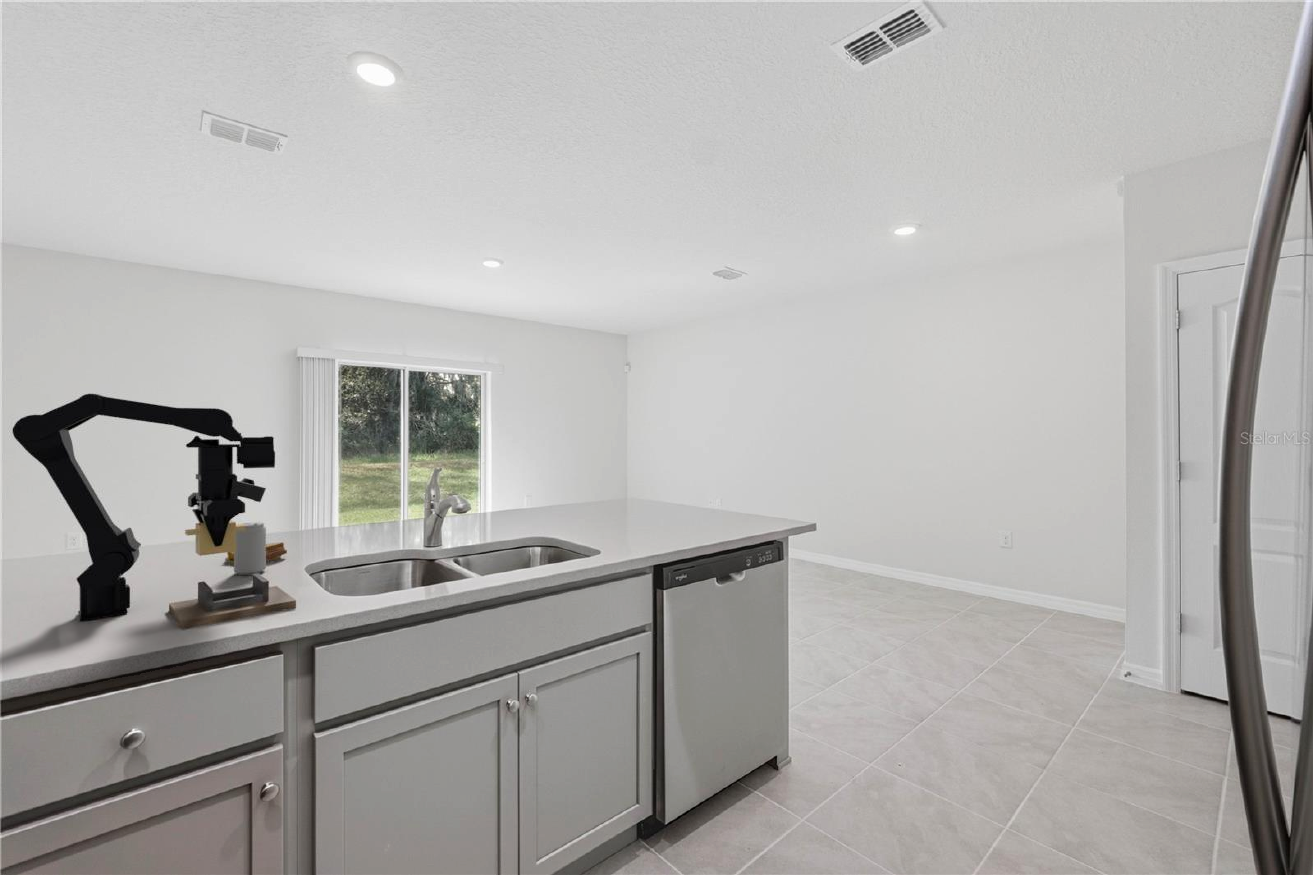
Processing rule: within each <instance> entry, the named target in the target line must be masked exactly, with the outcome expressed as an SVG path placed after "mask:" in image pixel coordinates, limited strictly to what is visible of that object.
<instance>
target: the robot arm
mask: <svg viewBox="0 0 1313 875" xmlns="http://www.w3.org/2000/svg"><path fill="white" fill-rule="evenodd" d="M97 416H103V417H111V418H116V419H117V418H118V419H126V420H132V421H139V422H147V423H153V424H162V425H167V426H169V425H170V426H173V427H177V428H181V429H184V430H188V431H190V432H194V433H199V434H201V435H204V436H208V437H222V438H223V439H225V440H227V441H229V442H239V443H230V444H229V443H228V444H227V443H220V439H218V438H216V439H214V438H213V439H212V438H210V439H209V438H207V439H206V438H205V439H204V438H203V439H202V438H201V437H200V436H199V435H195V436H194V437H193V439H192V440H190V441H189V442H188V443H187V444H185V446H186V448H188V449H189V448H191V449H192V448H197V473H195V480H197V492H192V493H191V494H190V495H189V496H188V497H187V506H188V507H189V508H193V509H191V511H192V513H193V514H194V516H195V518H196V520H197V521H198V523H205V526H206V528H207V530H208V532H209V535H210V537H211V539H212V541H213V543H214V545H215V546H221V545H222V543H223V540H224V536H225V533H226V530H227V527H228V524H229V521H230V520H232V519H233V518H235V517H236V516H238V515H239V514H244V513H246V503H245V502H244V501H243V500H241V499H239V497H240V498H245V499H248V500H253V501H254V502H257V503H261V502H262V499H263V497H264V494H265V492H266V489H267V488H266V487H262V486H259V485H256V484H255V481H254V479H251V478H245V477H243V478H242V480H240V481H239V480H238V475H236V473H234V472H233V471H234V465H233V464H234V461H233V458H234V457H233V456H234V454H233V452H234V449H233V448H236V464H238V465H239V464H240V465H242V467H243V469H270V468H272V469H273V468H276V451H275V444H274V443H275V442H274V436H272V435H271V436H267V435H266V436H259V437H258V436H257V437H252V436H250V437H248V436H246V437H245V436H243V435H242V432H239V431H238V430H237V428H235V426H233V423H234V420H233V418H232V416H231V414H230V413H229V412H227V411H226V410H224V409H221V408H208V407H203V408H202V407H199V408H198V407H174V406H168V405H161V404H154V403H148V402H143V401H142V402H141V401H135V400H128V399H121V398H115V397H109V396H104V395H101V394H98V393H87V394H85V393H84V394H82V395H81V396H79V397H78V398H77V399H75V400H72V401H71V402H68V403H65V404H63V405H61V406H59V407H57V408H54V409H51V410H49V411H47V412H45V413H43V414H29V415H26V416H24V417H21V418H20V419H18V420H17V421H15V424H14V426H13V427H12V435H13V437H14V439H15V440H16V441H17V442H18V443H19V444H20V445H21V446H22V447H23V449H24V450H25V451H26V452H27V453H28V454H29V455H30V456H32V457H33V458H34V459H35V460H36V461H38V462H39V463H40V464H41V465H42V466H43V467H45V469H46V471H47V473H48V475H49V476H50V478H51V479H52V481H53V482H54V484H55V486H56V488H57V489H58V491H59V492H60V494H61V496H62V497H63V499H64V500H65V502H66V504H67V506H68V507H69V509H70V511H71V512H72V514H73V516H74V517H75V519H76V520H77V522H78V524H79V526H80V527H81V528H82V531H83V532H84V534H85V537H86V542H87V549H88V552H89V556H90V558H91V559H90V560H91V563H92V564H90V566H88V567H86V569H85V570H84V571H83V572H82V573H80V575H78V576H77V577H76V582H77V583H78V585H79V610H78V612H77V613H78V619H79V622H81V621H82V622H83V621H89V620H96V619H102V618H107V617H114V616H120V615H126V614H128V613H129V612H128V610H129V609H130V608H131V587H130V585H129V584H127V580H126V577H124V576H123V575H124V574H125V573H127V572H129V570H131V568H132V567H133V566H134V565H135V563H136V562H137V561H138V558H139V556H140V549H139V548H140V547H141V545H142V544H141V543H140V542H139V541H138V540H137V539H136V538H135V536H134V532H133V530H132V528H131V527H127V528H126V529H124V530H122V529H121V528H120V527H118V526H117V525H116V524H115V523H114V522H113V521H112V519H111V516H110V515H109V513H108V511H107V510H106V509H105V507H104V505H103V504H102V502H101V500H100V498H99V497H98V495H97V493H96V492H95V489H94V488H93V487H92V485H91V483H90V481H89V480H88V478H87V476H86V474H85V473H84V471H83V469H82V467H81V466H80V465H79V462H78V461H77V459H76V457H75V454H74V453H75V452H74V446H73V441H72V438H71V435H70V434H71V433H70V431H71V430H73V429H75V428H77V427H79V426H81V425H82V424H84V423H86V422H88V421H90V420H92V419H93V418H95V417H97ZM195 506H196V508H194V507H195Z"/></svg>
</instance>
